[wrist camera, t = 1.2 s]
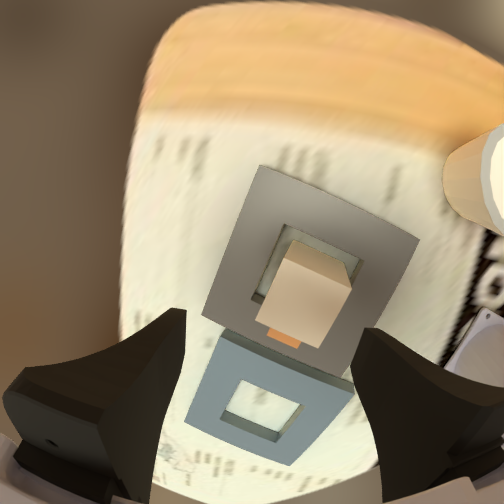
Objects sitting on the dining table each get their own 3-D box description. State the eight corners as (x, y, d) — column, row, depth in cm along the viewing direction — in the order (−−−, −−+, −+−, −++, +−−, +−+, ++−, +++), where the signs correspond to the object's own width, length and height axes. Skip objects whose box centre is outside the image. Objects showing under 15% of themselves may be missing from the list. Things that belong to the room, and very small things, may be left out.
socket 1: (413, 236, 19) (419, 239, 17) (339, 367, 22) (340, 377, 21) (263, 166, 20) (259, 164, 19) (208, 307, 24) (201, 314, 22)
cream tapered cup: (509, 163, 15) (561, 159, 9) (488, 241, 17) (539, 260, 10) (446, 122, 16) (491, 99, 10) (423, 205, 18) (466, 212, 11)
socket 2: (353, 383, 22) (354, 394, 21) (291, 456, 25) (289, 466, 24) (225, 328, 24) (220, 336, 22) (189, 413, 27) (183, 421, 25)
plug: (343, 262, 20) (351, 289, 15) (314, 317, 22) (311, 358, 16) (293, 239, 21) (283, 257, 15) (267, 296, 22) (249, 331, 16)
